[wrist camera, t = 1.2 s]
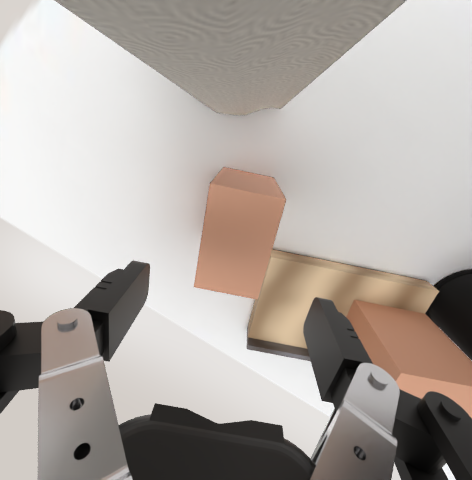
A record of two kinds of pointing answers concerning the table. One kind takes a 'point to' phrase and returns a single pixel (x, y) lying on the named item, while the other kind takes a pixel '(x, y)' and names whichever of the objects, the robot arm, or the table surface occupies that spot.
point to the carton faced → (413, 351)
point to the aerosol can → (454, 309)
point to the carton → (238, 232)
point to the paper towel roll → (236, 42)
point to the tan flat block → (322, 286)
